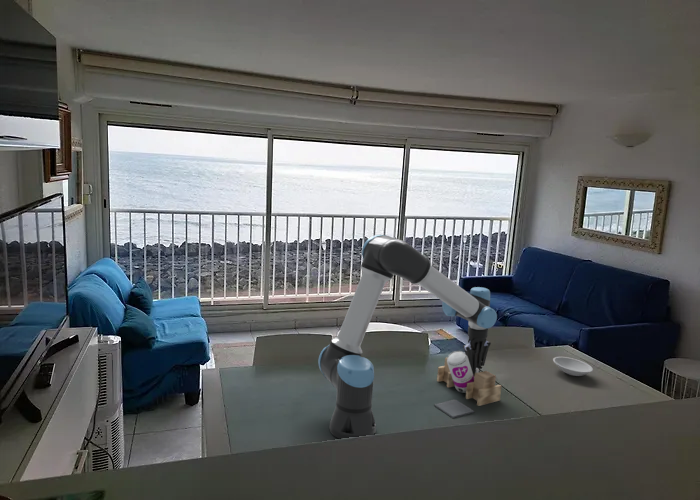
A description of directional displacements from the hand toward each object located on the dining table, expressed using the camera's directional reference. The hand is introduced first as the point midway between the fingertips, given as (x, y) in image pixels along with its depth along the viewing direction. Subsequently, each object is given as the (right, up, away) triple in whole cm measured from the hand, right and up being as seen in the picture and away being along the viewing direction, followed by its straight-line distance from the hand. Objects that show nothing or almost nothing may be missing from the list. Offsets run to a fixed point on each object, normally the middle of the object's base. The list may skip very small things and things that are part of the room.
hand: (474, 383), depth 196 cm
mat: (-12, -5, -18) cm, 22 cm away
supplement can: (-4, -1, -2) cm, 4 cm away
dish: (+48, -2, +20) cm, 52 cm away
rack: (-3, -2, -1) cm, 4 cm away
